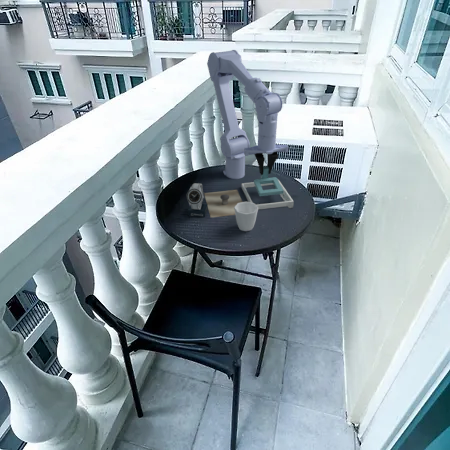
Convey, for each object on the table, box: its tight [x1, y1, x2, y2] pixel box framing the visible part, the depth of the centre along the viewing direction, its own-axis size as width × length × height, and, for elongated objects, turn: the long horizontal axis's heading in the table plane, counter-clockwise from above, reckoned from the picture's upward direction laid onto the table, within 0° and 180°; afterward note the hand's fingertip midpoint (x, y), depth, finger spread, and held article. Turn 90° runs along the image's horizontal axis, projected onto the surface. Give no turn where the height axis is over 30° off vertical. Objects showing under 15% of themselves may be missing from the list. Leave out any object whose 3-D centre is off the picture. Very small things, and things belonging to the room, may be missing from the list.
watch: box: [186, 183, 209, 218], centre depth 104 cm, size 6×8×11 cm
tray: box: [241, 179, 295, 211], centre depth 115 cm, size 16×14×2 cm
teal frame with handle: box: [253, 165, 283, 197], centre depth 111 cm, size 10×8×5 cm
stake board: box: [203, 189, 243, 218], centre depth 111 cm, size 16×12×4 cm
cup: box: [234, 200, 259, 232], centre depth 99 cm, size 7×10×8 cm
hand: (264, 173), depth 113 cm, fingers closed on teal frame with handle
